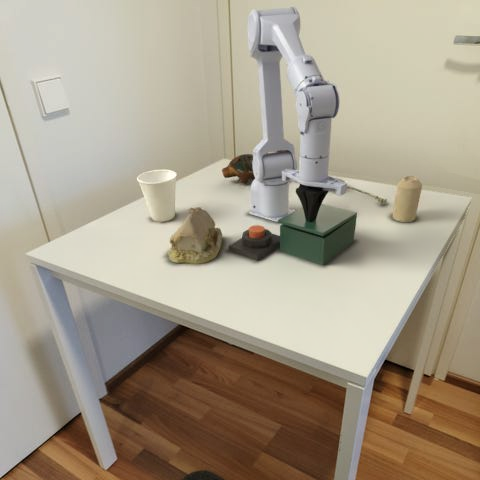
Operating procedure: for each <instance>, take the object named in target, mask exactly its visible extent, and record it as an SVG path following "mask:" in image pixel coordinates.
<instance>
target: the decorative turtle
mask: <svg viewBox="0 0 480 480" xmlns="http://www.w3.org/2000/svg"><path fill="white" fill-rule="evenodd" d="M252 163H253V153H244V154H240V155H238V156H236V157H234V158H232V159H231V160H230V161H229V163H228V165H226V167H223V168H222V169H221V173H222V175H223V176H222V177H224V178H225V179H229V178H236V177H237V178H238V179H239V181H240V183H241V184H242V185H245V184H247V183H248V182H249V181H251V180H252V181H253V180H254V179H255V176H254V173H253V166H252Z"/></svg>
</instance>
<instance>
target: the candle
mask: <svg viewBox="0 0 480 480" xmlns="http://www.w3.org/2000/svg"><path fill="white" fill-rule="evenodd" d="M422 188H423V184H422V182H421V181H420V180H419V179H418V178H417V177H415V176H414V175H410V176H409V175H408V176H405V177H403V178H402V179H401V180H399V181H398V182H397V186H396V192H395V198H394V204H393V210H392V219H393V220H395V221H396V222H401V223H410V222H413V221H415V220H416V218H417V212H418V208H419V203H420V198H421V193H422Z"/></svg>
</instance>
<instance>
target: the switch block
mask: <svg viewBox="0 0 480 480" xmlns="http://www.w3.org/2000/svg"><path fill="white" fill-rule="evenodd" d="M277 248H280V235H279V234H276V233H272V231H270V230H269V229H266V228H265V237H263V238H259V239H254V238H250V237H249V228H248V229H247V230H244V231H243V232H242V235H241V238H240V239H238V240H236V241H234V242H232V243H231V244H229V245H228V252H230V253H233V254H236V255H239V256H241V257H243V258H248V259H250V260H253V261H255V262H258V261H260V260H261V259H262V258H264V257H265V256H267V255H269V254H270V253H272V252H273V251H274V250H276V249H277Z"/></svg>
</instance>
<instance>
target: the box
mask: <svg viewBox="0 0 480 480" xmlns="http://www.w3.org/2000/svg"><path fill="white" fill-rule="evenodd" d="M357 218H358V215H357V216H355V217H353V218H352V219H350V220H348V221H347V222H345V223H344V224H342V225H340V226H339V227H337V228H335V229H334V230H332V231H330V232H329V233H327V234H326V235H324V236H321V235H317V234H314V233H311V232H307V231H304V230H300V229H297V228H294V227H290V226H287V225H283V224H280V225H279V236H280V246H279V252H281V253H284V254H287V255H290V256H293V257H295V258H299V259H302V260H305V261H308V262H311V263H314V264H317V265H319V266H323V267H324V265H326V264H327V263H328V262H329V261H330V260H332V259H333V258H334V257H336V256H337V255H338V254H340V253H341V252H342V251H343V250H344V249H346V248H347V247H349V246H350V245H351V244H352V243H354V241H355V235H356V225H357Z"/></svg>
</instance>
